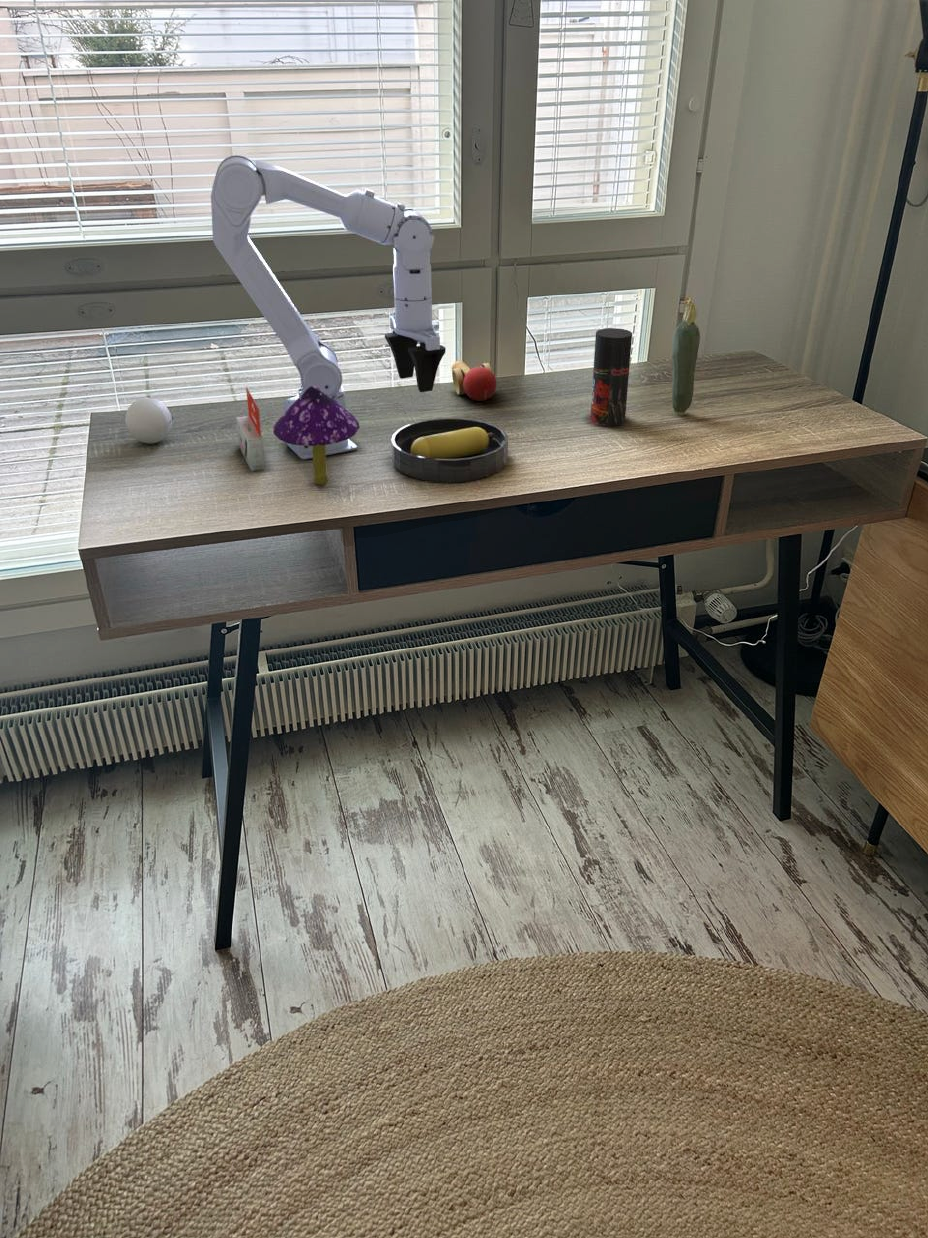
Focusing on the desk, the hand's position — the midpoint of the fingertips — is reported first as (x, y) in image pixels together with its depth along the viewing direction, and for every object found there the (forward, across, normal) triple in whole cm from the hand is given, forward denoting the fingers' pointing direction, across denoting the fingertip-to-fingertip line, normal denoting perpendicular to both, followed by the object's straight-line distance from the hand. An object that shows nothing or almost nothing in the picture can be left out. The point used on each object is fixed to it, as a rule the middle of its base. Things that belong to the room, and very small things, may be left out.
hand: (415, 383), depth 153 cm
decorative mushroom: (+10, -10, +20) cm, 24 cm away
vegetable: (+9, -11, -45) cm, 47 cm away
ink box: (+10, +5, +26) cm, 29 cm away
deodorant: (+9, -7, -33) cm, 35 cm away
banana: (+9, -11, -1) cm, 14 cm away
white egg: (+10, +21, +39) cm, 45 cm away
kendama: (+10, +19, -19) cm, 28 cm away
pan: (+9, -11, -1) cm, 14 cm away
